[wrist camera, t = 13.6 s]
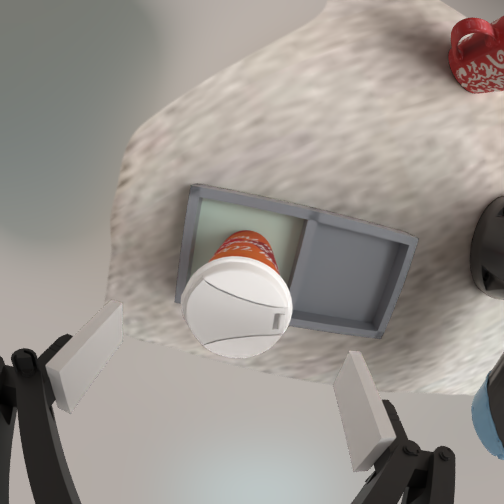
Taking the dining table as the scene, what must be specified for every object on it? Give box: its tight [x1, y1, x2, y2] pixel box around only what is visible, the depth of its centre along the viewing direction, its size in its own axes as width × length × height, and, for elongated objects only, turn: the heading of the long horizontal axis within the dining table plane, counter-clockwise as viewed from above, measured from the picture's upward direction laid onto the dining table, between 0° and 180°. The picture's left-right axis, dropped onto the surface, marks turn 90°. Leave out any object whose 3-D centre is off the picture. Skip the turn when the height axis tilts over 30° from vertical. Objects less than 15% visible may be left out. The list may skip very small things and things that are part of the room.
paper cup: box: [181, 230, 292, 358], centre depth 26 cm, size 8×8×14 cm
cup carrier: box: [175, 184, 419, 339], centre depth 32 cm, size 25×13×3 cm, turn 78°
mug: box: [448, 16, 504, 93], centre depth 18 cm, size 13×9×14 cm
